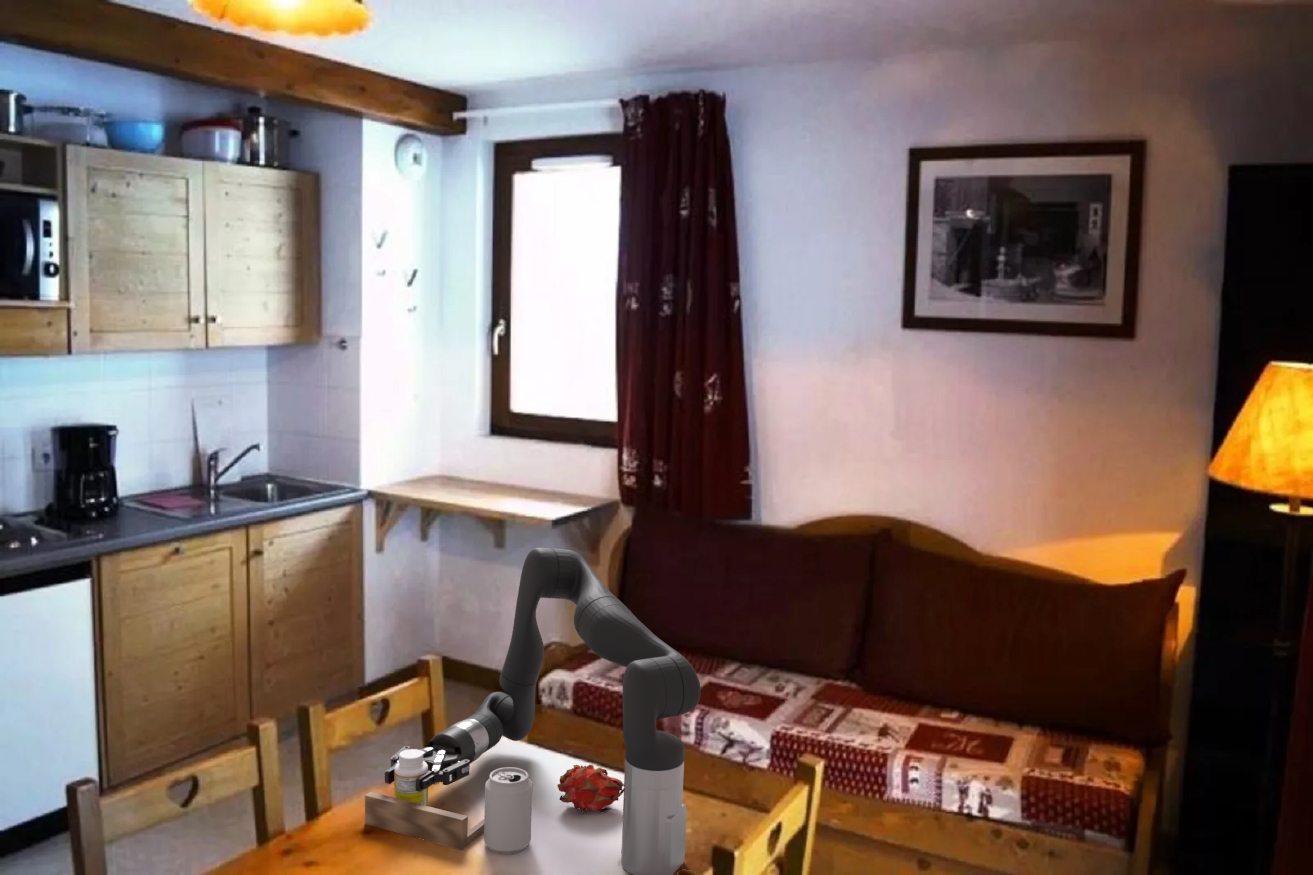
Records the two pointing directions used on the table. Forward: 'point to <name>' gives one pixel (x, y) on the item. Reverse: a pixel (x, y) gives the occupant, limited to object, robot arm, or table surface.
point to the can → (508, 810)
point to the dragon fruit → (589, 788)
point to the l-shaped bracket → (420, 821)
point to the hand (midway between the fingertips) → (402, 782)
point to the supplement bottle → (410, 777)
